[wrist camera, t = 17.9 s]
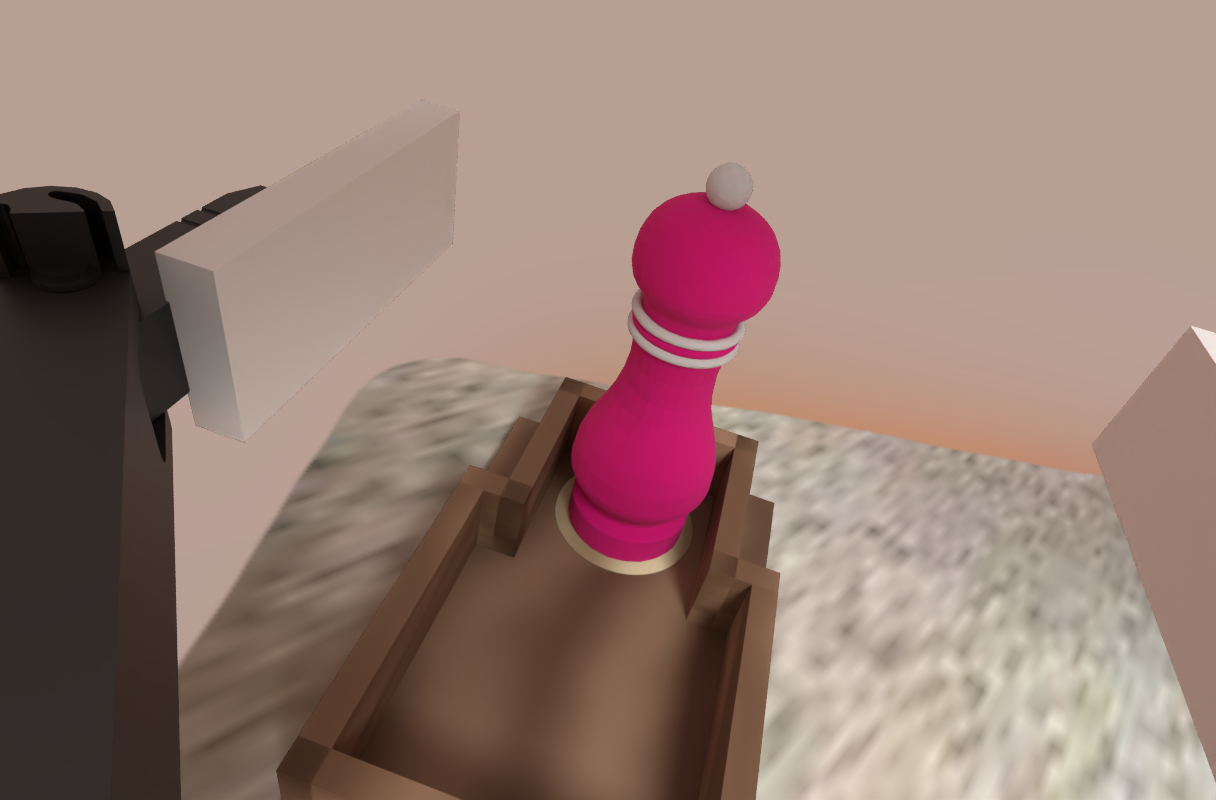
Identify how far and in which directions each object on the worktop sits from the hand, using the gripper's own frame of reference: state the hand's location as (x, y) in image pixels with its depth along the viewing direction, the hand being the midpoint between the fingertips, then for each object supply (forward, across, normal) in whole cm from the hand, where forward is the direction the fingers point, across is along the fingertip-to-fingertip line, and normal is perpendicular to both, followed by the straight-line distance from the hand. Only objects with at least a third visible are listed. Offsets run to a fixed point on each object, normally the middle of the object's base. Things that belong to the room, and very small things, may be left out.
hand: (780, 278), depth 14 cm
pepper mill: (+15, -2, -24) cm, 28 cm away
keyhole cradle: (+8, -2, -25) cm, 26 cm away
